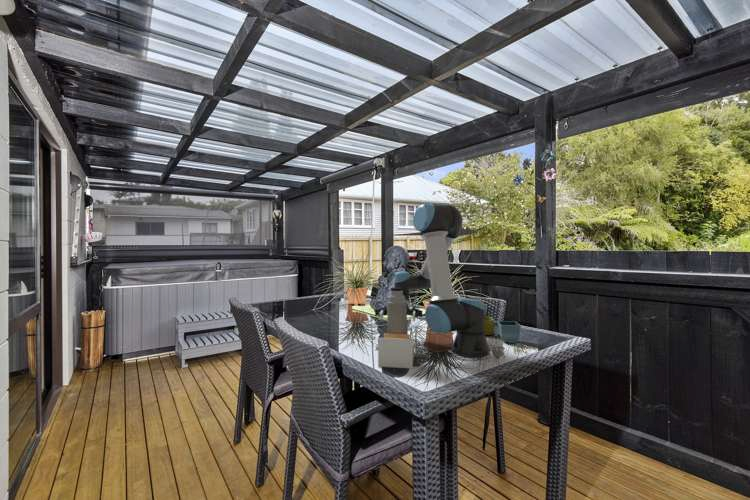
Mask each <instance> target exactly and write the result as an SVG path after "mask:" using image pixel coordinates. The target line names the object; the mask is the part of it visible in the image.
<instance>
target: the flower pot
mask: <svg viewBox="0 0 750 500" xmlns="http://www.w3.org/2000/svg"><path fill="white" fill-rule="evenodd" d="M497 329H498V334H499V336H500V337H499V338H500V339H501V341H502V342H503V341H504V342H505V343H504V344H516V343H517V342H518V341H519V338H520V333H521V324H520V323H518V322H517V321H511V320H510V321H509V320H504V321H503V320H498V321H497ZM506 342H507V343H506ZM508 342H509V343H508Z"/></svg>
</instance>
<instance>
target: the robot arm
mask: <svg viewBox="0 0 750 500" xmlns="http://www.w3.org/2000/svg"><path fill="white" fill-rule="evenodd" d="M463 219H464V218H463V215H462V213H461V211H460V210H459V209H458V208H457V207H456V206H454V205H451V204H440V203H439V204H437V203H431V202H429V203H422V204H421V205H419V206H418V207H417V208H416V210H415V212H414V213H413V218H412V221H413V222H412V223H413V227H414V229H415V231H416V232H417V231H418V232H419V233H420V238H422V239H423V240H424V245H425V251H426V258H425V260H424V262H423V265H422V267H421V268H420V270H419V272H418V274H410V272H409V271H396V272H395V273H394V278H393V282H394V288H403V290H402V291H403V295H404V296H405V301H406V302H407V316H411V317H412V321H413V322H415V321H416V318H422V317H423V310H422V309H418V308H416V307H415V306H412V307H411V308H410V306H411V299H410V297H411V291H417V290H428V289H429V290H430V291H431V298H430V299H429V300H428V302H429V305H428V306H427V307H426V308H425V311H424V320H425V321H426V325H427V326H428V327H429V328H430V329H431V331H432V332H434V333H436V334H448V333H451V332H456V334H455V337H454V341H453V344H452V352H453V354H455V355H457V356H460V357H463V358H464V357H465V358H483V357H484V358H485V357H486V356H489V355H490V347H489V345H488V342H487V339H486V336H485V317H486V309H485V307H486V306H485V302H484V300H481V299H477V298H469V297H457V296H456V295H455V293H454V292H453V284H452V276H451V270H450V262H449V255H448V251H449V250H450V248H451V246H452V243H453V241H454V240H456V239H457V238H458V237H459V235H460V233H461V231H462V229H463V224H464V223H463ZM374 316H376V317H377V316H378V318H379V321H382V319H383V318H384V316H387V305H386V306H384V307H381V308H376V309H375V310H374Z"/></svg>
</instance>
